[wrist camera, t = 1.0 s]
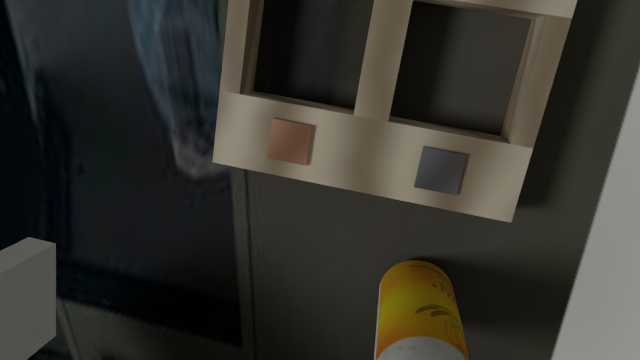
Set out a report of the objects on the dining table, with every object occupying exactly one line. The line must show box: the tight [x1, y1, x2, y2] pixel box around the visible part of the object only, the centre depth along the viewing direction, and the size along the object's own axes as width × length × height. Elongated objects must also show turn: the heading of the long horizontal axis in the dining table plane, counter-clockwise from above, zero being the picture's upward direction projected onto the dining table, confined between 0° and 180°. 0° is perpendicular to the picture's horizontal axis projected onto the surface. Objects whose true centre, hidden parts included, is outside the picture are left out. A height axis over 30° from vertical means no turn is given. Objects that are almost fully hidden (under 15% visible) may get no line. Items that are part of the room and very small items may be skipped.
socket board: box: [213, 0, 577, 223], centre depth 34 cm, size 22×16×4 cm
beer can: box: [374, 260, 470, 360], centre depth 32 cm, size 6×6×15 cm
